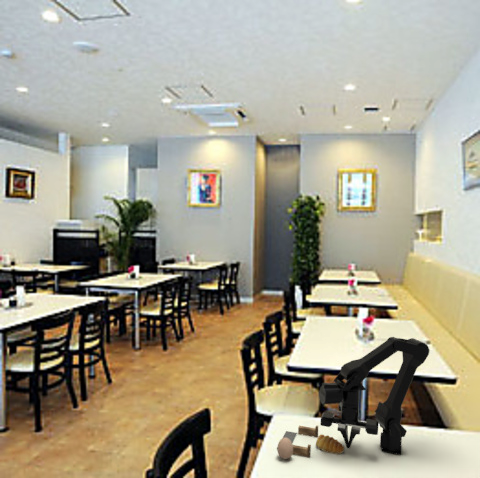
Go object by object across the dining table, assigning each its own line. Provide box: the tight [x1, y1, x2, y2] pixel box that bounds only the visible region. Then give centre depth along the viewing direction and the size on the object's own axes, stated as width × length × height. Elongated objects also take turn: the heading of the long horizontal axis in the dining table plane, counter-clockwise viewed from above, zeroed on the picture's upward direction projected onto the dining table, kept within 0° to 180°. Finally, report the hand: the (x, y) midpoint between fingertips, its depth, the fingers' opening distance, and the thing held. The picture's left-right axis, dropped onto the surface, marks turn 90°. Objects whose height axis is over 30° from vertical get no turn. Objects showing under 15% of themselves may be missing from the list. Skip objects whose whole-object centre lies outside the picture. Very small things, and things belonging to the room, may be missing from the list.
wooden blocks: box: [292, 425, 319, 458], centre depth 161 cm, size 7×17×4 cm, turn 161°
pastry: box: [315, 434, 345, 455], centre depth 158 cm, size 9×7×4 cm
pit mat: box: [282, 430, 298, 444], centre depth 163 cm, size 4×14×1 cm, turn 161°
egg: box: [276, 437, 294, 460], centre depth 151 cm, size 5×5×7 cm
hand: (348, 447), depth 156 cm, fingers closed
